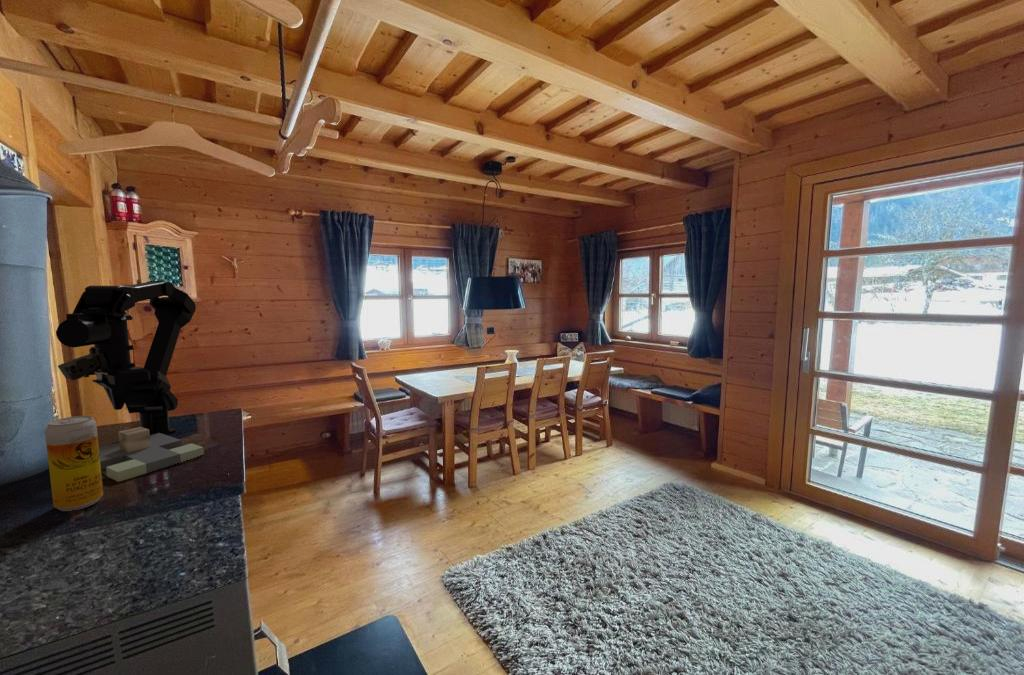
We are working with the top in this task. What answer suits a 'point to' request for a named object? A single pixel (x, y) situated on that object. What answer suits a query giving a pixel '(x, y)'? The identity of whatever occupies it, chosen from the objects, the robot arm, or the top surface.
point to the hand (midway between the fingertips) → (118, 409)
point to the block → (134, 439)
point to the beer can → (74, 462)
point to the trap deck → (145, 457)
